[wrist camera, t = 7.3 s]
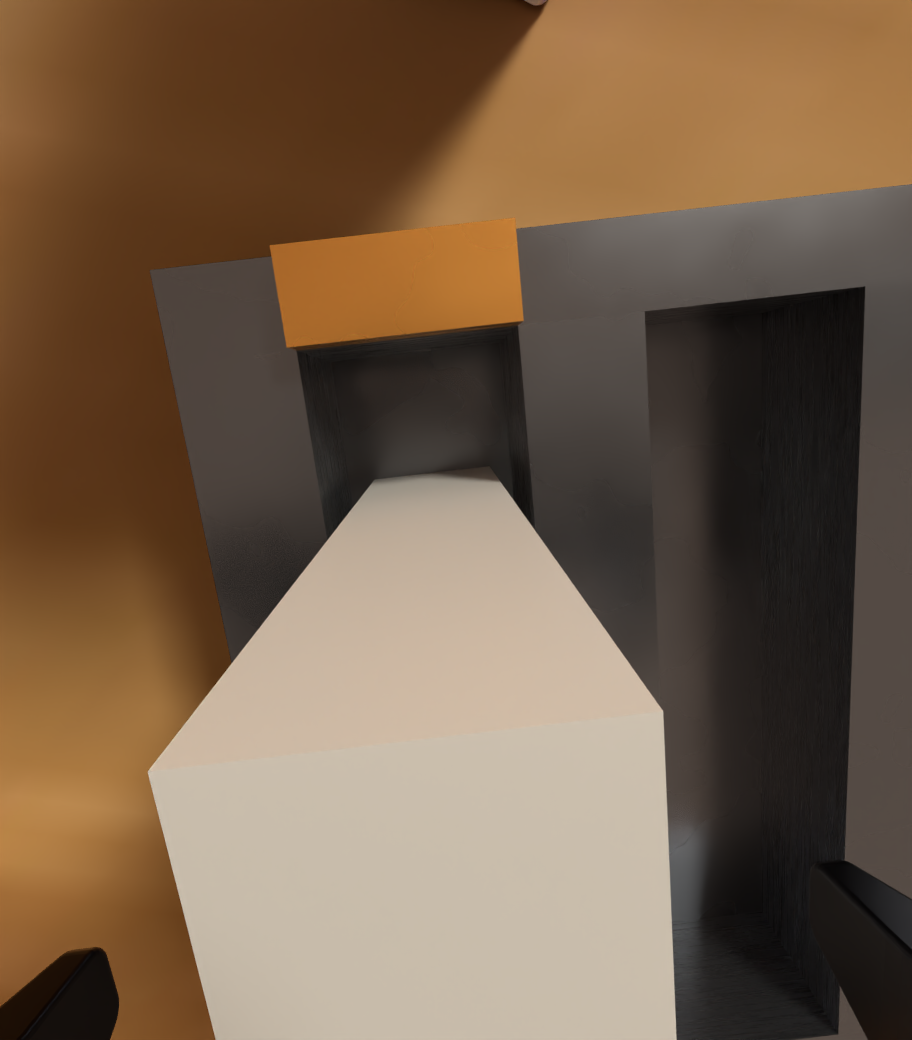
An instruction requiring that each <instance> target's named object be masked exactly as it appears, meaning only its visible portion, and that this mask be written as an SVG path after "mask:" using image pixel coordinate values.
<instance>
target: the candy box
mask: <svg viewBox="0 0 912 1040" xmlns="http://www.w3.org/2000/svg"><path fill="white" fill-rule="evenodd" d="M524 1H526V2H528V3H530V4H532V5H542V4H543V3H544V2H546V1H547V0H524Z"/></svg>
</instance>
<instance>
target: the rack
mask: <svg viewBox="0 0 912 1040" xmlns="http://www.w3.org/2000/svg"><path fill="white" fill-rule="evenodd" d="M270 251H271V257H262V258H253V259H244V260H235V261H226V262H218V263H209V264H200V265H191V266H182V267H173V268H164V269H155V270H150V274H151V279H152V284H153V289H154V293H155V298H156V303H157V308H158V313H159V317H160V322H161V327H162V332H163V337H164V341H165V346H166V351H167V356H168V360H169V365H170V370H171V375H172V380H173V384H174V389H175V394H176V399H177V404H178V408H179V413H180V418H181V423H182V428H183V432H184V437H185V442H186V447H187V452H188V456H189V461H190V466H191V471H192V476H193V480H194V485H195V490H196V495H197V500H198V504H199V509H200V514H201V519H202V524H203V528H204V533H205V538H206V543H207V547H208V552H209V557H210V562H211V567H212V571H213V576H214V581H215V586H216V591H217V595H218V600H219V605H220V610H221V615H222V619H223V624H224V629H225V634H226V639H227V643H228V648H229V653H230V658H231V663H233V661H234V660H235V659H236V657H237V656H238V655H239V653H240V652H241V651H242V650H243V648H244V647H245V646H246V644H247V643H248V642H249V641H250V639H251V638H252V637H253V635H254V634H255V633H256V632H257V630H258V629H259V628H260V626H261V625H262V624H263V623H264V621H265V620H266V619H267V617H268V616H269V615H270V614H271V612H272V611H273V610H274V608H275V607H276V606H277V605H278V603H279V602H280V601H281V599H282V598H283V597H284V596H285V594H286V593H287V592H288V590H289V589H290V588H291V587H292V585H293V584H294V583H295V581H296V580H297V579H298V578H299V576H300V575H301V574H302V572H303V571H304V570H305V569H306V567H307V566H308V565H309V563H310V562H311V561H312V560H313V558H314V557H315V556H316V554H317V553H318V552H319V551H320V549H321V548H322V547H323V545H324V544H325V543H326V542H327V540H328V539H329V538H330V536H331V535H332V534H333V533H334V531H335V530H336V529H337V527H338V526H339V525H340V524H341V522H342V521H343V520H344V518H345V517H346V516H347V515H348V513H349V512H350V511H351V509H352V508H353V507H354V506H355V504H356V503H357V502H358V500H359V499H360V498H361V497H362V495H363V494H364V493H365V491H366V490H367V489H368V488H369V486H370V485H371V484H372V482H373V481H374V480H375V479H383V478H392V477H401V476H409V475H418V474H427V473H435V472H444V471H453V470H461V469H470V468H479V467H487V466H490V468H491V469H492V471H493V472H494V473H495V475H496V476H497V478H498V479H499V480H500V482H501V483H502V485H503V486H504V487H505V489H506V490H507V492H508V493H509V495H510V496H511V497H512V499H513V500H514V502H515V503H516V504H517V506H518V507H519V509H520V510H521V511H522V513H523V514H524V516H525V517H526V519H527V520H528V521H529V523H530V524H531V526H532V527H533V528H534V530H535V531H536V533H537V534H538V535H539V537H540V538H541V540H542V541H543V542H544V544H545V545H546V547H547V548H548V550H549V551H550V552H551V554H552V555H553V557H554V558H555V559H556V561H557V562H558V564H559V565H560V566H561V568H562V569H563V571H564V572H565V574H566V575H567V576H568V578H569V579H570V581H571V582H572V583H573V585H574V586H575V588H576V589H577V590H578V592H579V593H580V595H581V596H582V597H583V599H584V600H585V602H586V603H587V605H588V606H589V607H590V609H591V610H592V612H593V613H594V614H595V616H596V617H597V619H598V620H599V621H600V623H601V624H602V626H603V627H604V629H605V630H606V631H607V633H608V634H609V636H610V637H611V638H612V640H613V641H614V643H615V644H616V645H617V647H618V648H619V650H620V651H621V652H622V654H623V655H624V657H625V658H626V660H627V661H628V662H629V664H630V665H631V667H632V668H633V669H634V671H635V672H636V674H637V675H638V676H639V678H640V679H641V681H642V682H643V684H644V685H645V686H646V688H647V689H648V691H649V692H650V693H651V695H652V696H653V698H654V699H655V700H656V702H657V703H658V705H659V706H660V707H661V709H662V710H663V719H664V744H665V768H666V793H667V817H668V842H669V866H670V891H671V916H672V940H673V965H674V989H675V1014H676V1038H677V1040H867V1038H866V1036H865V1034H864V1032H863V1030H862V1028H861V1026H860V1024H859V1022H858V1020H857V1018H856V1016H855V1014H854V1012H853V1011H852V1009H851V1007H850V1005H849V1003H848V1001H847V999H846V997H845V995H844V993H843V991H842V989H841V987H840V985H839V983H838V982H837V980H836V978H835V976H834V974H833V972H832V970H831V968H830V966H829V964H828V962H827V960H826V958H825V956H824V955H823V953H822V951H821V949H820V947H819V945H818V943H817V941H816V939H815V937H814V934H813V932H812V929H811V925H810V921H809V874H810V869H811V867H812V865H813V864H815V863H818V862H826V861H835V860H845V861H848V862H850V863H852V864H854V865H856V866H857V867H859V868H861V869H862V870H864V871H866V872H867V873H869V874H871V875H872V876H874V877H876V878H877V879H879V880H881V881H882V882H884V883H886V884H887V885H889V886H891V887H892V888H894V889H896V890H897V891H899V892H901V893H902V894H904V895H906V896H908V897H909V898H911V899H912V184H910V185H901V186H893V187H884V188H875V189H866V190H857V191H848V192H839V193H830V194H822V195H813V196H804V197H795V198H786V199H777V200H768V201H759V202H750V203H742V204H733V205H724V206H715V207H706V208H697V209H688V210H679V211H671V212H662V213H653V214H644V215H635V216H626V217H617V218H608V219H599V220H591V221H582V222H573V223H564V224H555V225H546V226H537V227H528V228H520V229H516V222H515V218H508V219H499V220H490V221H481V222H472V223H464V224H455V225H446V226H437V227H428V228H419V229H410V230H401V231H392V232H384V233H375V234H366V235H357V236H348V237H339V238H330V239H321V240H312V241H304V242H295V243H286V244H277V245H270Z"/></svg>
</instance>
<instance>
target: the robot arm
mask: <svg viewBox="0 0 912 1040" xmlns="http://www.w3.org/2000/svg"><path fill="white" fill-rule="evenodd" d="M809 921H810V925H811V929H812V932H813V934H814V937H815V939H816V941H817V943H818V945H819V947H820V949H821V951H822V953H823V955H824V956H825V958H826V960H827V962H828V964H829V966H830V968H831V970H832V972H833V974H834V976H835V978H836V980H837V982H838V983H839V985H840V987H841V989H842V991H843V993H844V995H845V997H846V999H847V1001H848V1003H849V1005H850V1007H851V1009H852V1011H853V1012H854V1014H855V1016H856V1018H857V1020H858V1022H859V1024H860V1026H861V1028H862V1030H863V1032H864V1034H865V1036H866V1038H867V1040H912V899H911V898H909V897H908V896H906V895H904V894H902V893H901V892H899V891H897V890H896V889H894V888H892V887H891V886H889V885H887V884H886V883H884V882H882V881H881V880H879V879H877V878H876V877H874V876H872V875H871V874H869V873H867V872H866V871H864V870H862V869H861V868H859V867H857V866H856V865H854V864H852V863H850V862H848V861H845V860H835V861H826V862H818V863H815V864H813V865H812V867H811V869H810V874H809ZM118 1010H119V997H118V992H117V989H116V985H115V982H114V979H113V975H112V972H111V968H110V965H109V961H108V958H107V955H106V952H105V951H104V950H103V949H101V948H98V947H94V948H85V949H77V950H71V951H68V952H66V953H64V954H63V955H62V956H60V957H59V958H58V959H56V960H55V961H54V962H53V963H52V964H50V965H49V966H48V967H47V968H46V969H45V970H43V971H42V972H41V973H40V974H39V975H37V976H36V977H35V978H34V979H33V980H32V981H30V982H29V983H28V984H27V985H26V986H24V987H23V988H22V989H21V990H20V991H18V992H17V993H16V994H15V995H14V996H13V997H11V998H10V999H9V1000H8V1001H7V1002H5V1003H4V1004H3V1005H2V1006H1V1007H0V1040H110V1038H111V1035H112V1032H113V1030H114V1027H115V1024H116V1020H117V1016H118Z"/></svg>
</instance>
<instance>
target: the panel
mask: <svg viewBox="0 0 912 1040" xmlns="http://www.w3.org/2000/svg"><path fill="white" fill-rule="evenodd" d="M148 775H149V779H150V783H151V787H152V791H153V795H154V799H155V803H156V807H157V810H158V814H159V818H160V822H161V826H162V830H163V834H164V838H165V842H166V846H167V850H168V854H169V858H170V862H171V866H172V869H173V873H174V877H175V881H176V885H177V889H178V893H179V897H180V901H181V905H182V909H183V913H184V917H185V921H186V925H187V928H188V932H189V936H190V940H191V944H192V948H193V952H194V956H195V960H196V964H197V968H198V972H199V976H200V980H201V984H202V987H203V991H204V995H205V999H206V1003H207V1007H208V1011H209V1015H210V1019H211V1023H212V1027H213V1031H214V1035H215V1039H216V1040H677V1038H676V1014H675V989H674V965H673V940H672V916H671V891H670V866H669V842H668V817H667V793H666V768H665V744H664V719H663V710H662V709H661V707H660V706H659V705H658V703H657V702H656V700H655V699H654V698H653V696H652V695H651V693H650V692H649V691H648V689H647V688H646V686H645V685H644V684H643V682H642V681H641V679H640V678H639V676H638V675H637V674H636V672H635V671H634V669H633V668H632V667H631V665H630V664H629V662H628V661H627V660H626V658H625V657H624V655H623V654H622V652H621V651H620V650H619V648H618V647H617V645H616V644H615V643H614V641H613V640H612V638H611V637H610V636H609V634H608V633H607V631H606V630H605V629H604V627H603V626H602V624H601V623H600V621H599V620H598V619H597V617H596V616H595V614H594V613H593V612H592V610H591V609H590V607H589V606H588V605H587V603H586V602H585V600H584V599H583V597H582V596H581V595H580V593H579V592H578V590H577V589H576V588H575V586H574V585H573V583H572V582H571V581H570V579H569V578H568V576H567V575H566V574H565V572H564V571H563V569H562V568H561V566H560V565H559V564H558V562H557V561H556V559H555V558H554V557H553V555H552V554H551V552H550V551H549V550H548V548H547V547H546V545H545V544H544V542H543V541H542V540H541V538H540V537H539V535H538V534H537V533H536V531H535V530H534V528H533V527H532V526H531V524H530V523H529V521H528V520H527V519H526V517H525V516H524V514H523V513H522V511H521V510H520V509H519V507H518V506H517V504H516V503H515V502H514V500H513V499H512V497H511V496H510V495H509V493H508V492H507V490H506V489H505V487H504V486H503V485H502V483H501V482H500V480H499V479H498V478H497V476H496V475H495V473H494V472H493V471H492V469H491V468H490V466H487V467H479V468H470V469H461V470H453V471H444V472H435V473H427V474H418V475H409V476H401V477H392V478H383V479H375V480H374V481H373V482H372V484H371V485H370V486H369V488H368V489H367V490H366V491H365V493H364V494H363V495H362V497H361V498H360V499H359V500H358V502H357V503H356V504H355V506H354V507H353V508H352V509H351V511H350V512H349V513H348V515H347V516H346V517H345V518H344V520H343V521H342V522H341V524H340V525H339V526H338V527H337V529H336V530H335V531H334V533H333V534H332V535H331V536H330V538H329V539H328V540H327V542H326V543H325V544H324V545H323V547H322V548H321V549H320V551H319V552H318V553H317V554H316V556H315V557H314V558H313V560H312V561H311V562H310V563H309V565H308V566H307V567H306V569H305V570H304V571H303V572H302V574H301V575H300V576H299V578H298V579H297V580H296V581H295V583H294V584H293V585H292V587H291V588H290V589H289V590H288V592H287V593H286V594H285V596H284V597H283V598H282V599H281V601H280V602H279V603H278V605H277V606H276V607H275V608H274V610H273V611H272V612H271V614H270V615H269V616H268V617H267V619H266V620H265V621H264V623H263V624H262V625H261V626H260V628H259V629H258V630H257V632H256V633H255V634H254V635H253V637H252V638H251V639H250V641H249V642H248V643H247V644H246V646H245V647H244V648H243V650H242V651H241V652H240V653H239V655H238V656H237V657H236V659H235V660H234V661H233V663H232V664H231V665H230V666H229V668H228V669H227V670H226V672H225V673H224V674H223V675H222V677H221V678H220V679H219V681H218V682H217V683H216V684H215V686H214V687H213V688H212V690H211V691H210V692H209V693H208V695H207V696H206V697H205V699H204V700H203V701H202V702H201V704H200V705H199V706H198V708H197V709H196V710H195V711H194V713H193V714H192V715H191V717H190V718H189V719H188V720H187V722H186V723H185V724H184V726H183V727H182V728H181V729H180V731H179V732H178V733H177V735H176V736H175V737H174V738H173V740H172V741H171V742H170V744H169V745H168V746H167V747H166V749H165V750H164V751H163V753H162V754H161V755H160V756H159V758H158V759H157V760H156V762H155V763H154V764H153V765H152V767H151V768H150V769H149V771H148Z"/></svg>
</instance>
